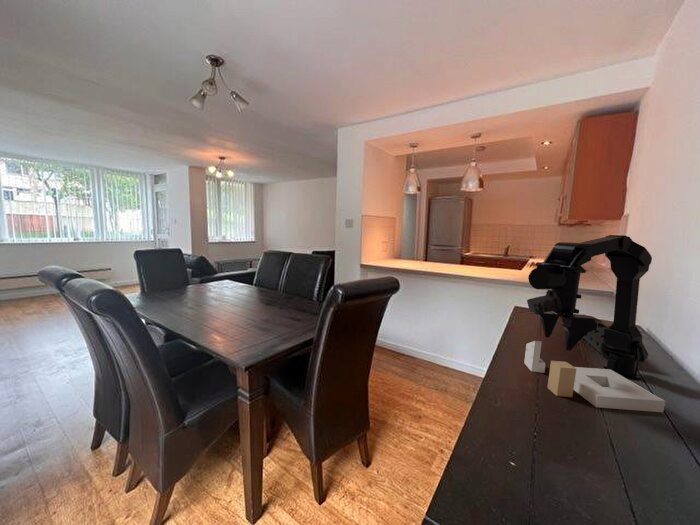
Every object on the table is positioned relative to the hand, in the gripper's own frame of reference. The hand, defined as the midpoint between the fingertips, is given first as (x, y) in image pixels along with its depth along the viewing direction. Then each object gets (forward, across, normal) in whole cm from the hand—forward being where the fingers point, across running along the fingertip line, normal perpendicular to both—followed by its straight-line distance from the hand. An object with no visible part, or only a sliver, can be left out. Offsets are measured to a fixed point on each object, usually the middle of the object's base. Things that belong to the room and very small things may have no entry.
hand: (556, 343), depth 79 cm
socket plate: (+13, +1, +14) cm, 18 cm away
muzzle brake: (+13, -32, +36) cm, 49 cm away
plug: (+13, +3, 0) cm, 13 cm away
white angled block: (+13, -11, +1) cm, 17 cm away
